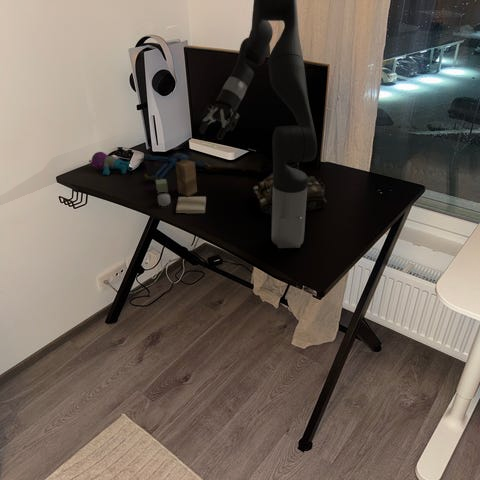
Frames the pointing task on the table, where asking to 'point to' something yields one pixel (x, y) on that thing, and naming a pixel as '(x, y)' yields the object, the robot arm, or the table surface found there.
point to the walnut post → (186, 177)
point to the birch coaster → (191, 205)
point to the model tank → (313, 193)
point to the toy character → (168, 165)
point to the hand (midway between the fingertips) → (209, 136)
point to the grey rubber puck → (164, 199)
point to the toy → (108, 163)
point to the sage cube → (161, 185)
